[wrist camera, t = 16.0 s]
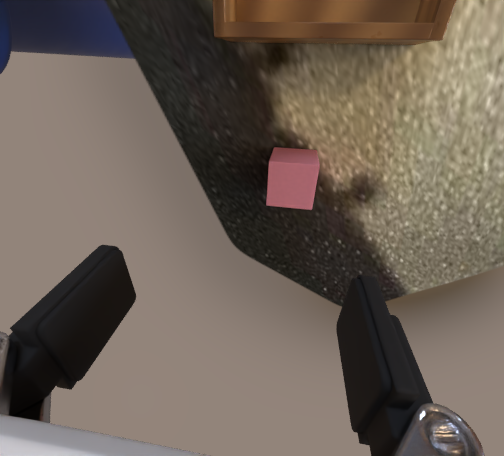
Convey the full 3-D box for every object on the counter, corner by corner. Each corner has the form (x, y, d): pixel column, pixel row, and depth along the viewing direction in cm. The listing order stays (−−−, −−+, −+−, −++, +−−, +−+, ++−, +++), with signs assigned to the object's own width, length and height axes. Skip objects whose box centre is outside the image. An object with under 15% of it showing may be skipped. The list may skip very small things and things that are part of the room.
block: (271, 186, 29) (266, 205, 25) (274, 147, 27) (269, 161, 23) (310, 189, 29) (311, 210, 25) (316, 149, 26) (319, 165, 22)
